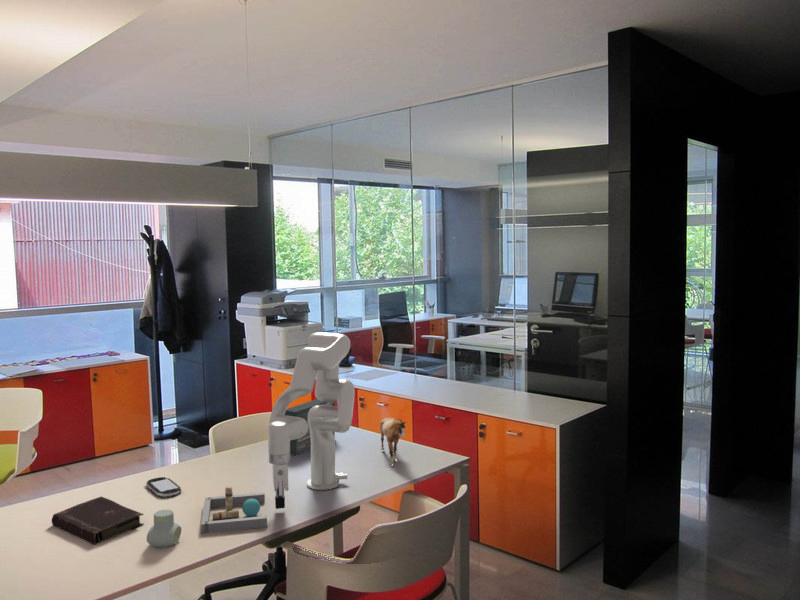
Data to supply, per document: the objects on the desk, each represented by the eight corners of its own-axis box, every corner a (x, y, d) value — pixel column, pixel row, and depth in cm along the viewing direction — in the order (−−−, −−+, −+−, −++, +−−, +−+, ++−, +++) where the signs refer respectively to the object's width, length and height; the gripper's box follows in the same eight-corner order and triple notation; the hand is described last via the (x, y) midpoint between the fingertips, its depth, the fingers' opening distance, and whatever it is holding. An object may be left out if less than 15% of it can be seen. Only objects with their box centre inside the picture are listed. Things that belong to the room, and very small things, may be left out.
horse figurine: (406, 469, 271) (406, 421, 270) (388, 470, 270) (388, 422, 268) (393, 446, 302) (393, 403, 300) (377, 447, 300) (377, 404, 299)
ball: (237, 506, 226) (251, 513, 228) (239, 515, 220) (254, 522, 223) (248, 492, 226) (262, 500, 228) (251, 501, 220) (264, 509, 223)
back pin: (232, 509, 230) (232, 486, 229) (232, 512, 228) (232, 488, 227) (225, 510, 229) (225, 486, 229) (225, 513, 227) (225, 489, 226)
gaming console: (143, 486, 254) (143, 479, 253) (166, 480, 259) (166, 474, 259) (160, 501, 239) (160, 494, 238) (184, 495, 244) (184, 488, 244)
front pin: (238, 507, 224) (212, 511, 221) (239, 514, 222) (213, 518, 219) (237, 511, 226) (212, 515, 222) (238, 518, 224) (212, 521, 221)
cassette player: (296, 455, 289) (295, 412, 287) (284, 453, 292) (283, 410, 290) (334, 439, 314) (334, 398, 312) (323, 436, 317) (322, 396, 315)
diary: (93, 548, 202) (92, 533, 202) (51, 528, 216) (51, 514, 216) (146, 525, 218) (145, 511, 217) (104, 508, 232) (103, 495, 231)
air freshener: (158, 535, 209) (157, 505, 209) (183, 535, 209) (182, 506, 208) (144, 551, 199) (143, 520, 198) (170, 552, 198) (169, 520, 197)
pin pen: (264, 500, 238) (264, 492, 238) (267, 526, 216) (267, 518, 216) (205, 505, 233) (205, 497, 233) (201, 533, 211) (201, 524, 211)
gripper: (291, 463, 220) (292, 515, 222) (288, 449, 235) (289, 498, 236) (269, 464, 218) (270, 517, 220) (267, 451, 233) (268, 500, 234)
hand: (280, 507), depth 228 cm, fingers closed
